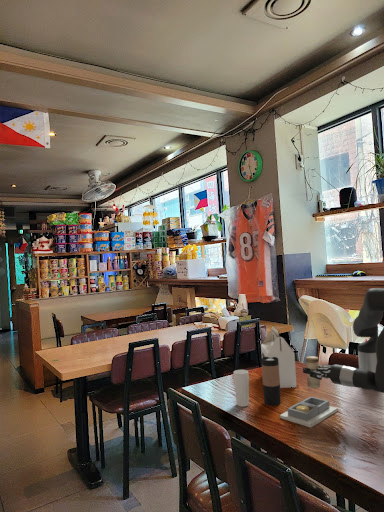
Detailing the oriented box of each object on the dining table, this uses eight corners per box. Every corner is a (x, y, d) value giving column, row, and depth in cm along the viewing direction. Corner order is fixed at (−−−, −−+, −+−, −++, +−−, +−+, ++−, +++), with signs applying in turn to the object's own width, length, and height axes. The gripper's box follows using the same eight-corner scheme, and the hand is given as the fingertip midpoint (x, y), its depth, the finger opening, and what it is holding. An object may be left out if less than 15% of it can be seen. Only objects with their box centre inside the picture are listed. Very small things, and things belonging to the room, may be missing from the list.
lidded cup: (308, 384, 166) (306, 356, 166) (320, 385, 164) (318, 356, 164) (306, 387, 161) (304, 359, 162) (319, 388, 159) (317, 359, 159)
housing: (307, 403, 172) (307, 393, 172) (337, 410, 161) (337, 401, 161) (280, 417, 158) (279, 408, 158) (310, 427, 147) (310, 417, 147)
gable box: (262, 375, 215) (259, 325, 216) (286, 374, 215) (283, 324, 215) (270, 389, 193) (266, 332, 193) (296, 387, 193) (293, 331, 193)
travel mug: (271, 407, 169) (268, 361, 169) (260, 402, 176) (257, 358, 176) (284, 403, 173) (282, 358, 173) (273, 398, 179) (271, 355, 180)
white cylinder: (234, 403, 177) (232, 370, 177) (248, 401, 178) (246, 369, 178) (237, 408, 170) (234, 374, 170) (252, 407, 171) (250, 373, 171)
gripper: (353, 362, 157) (315, 356, 170) (335, 370, 147) (296, 363, 160) (354, 380, 157) (316, 373, 169) (337, 390, 147) (298, 381, 160)
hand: (307, 368), depth 165 cm, fingers closed on lidded cup, 5 cm apart
